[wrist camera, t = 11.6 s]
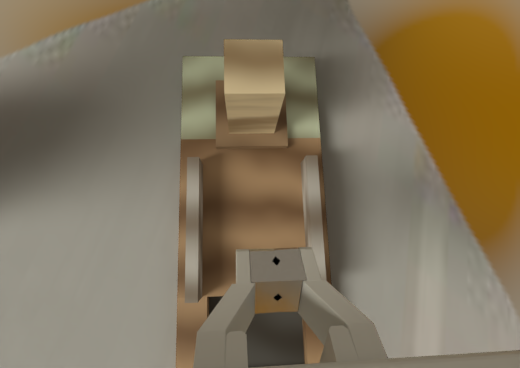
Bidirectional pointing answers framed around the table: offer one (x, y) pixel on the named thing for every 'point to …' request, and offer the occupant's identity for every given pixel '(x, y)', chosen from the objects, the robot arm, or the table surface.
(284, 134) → the wood block
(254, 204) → the track
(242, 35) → the table surface
